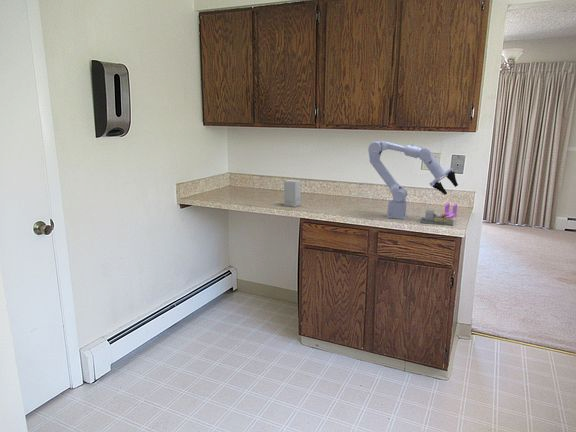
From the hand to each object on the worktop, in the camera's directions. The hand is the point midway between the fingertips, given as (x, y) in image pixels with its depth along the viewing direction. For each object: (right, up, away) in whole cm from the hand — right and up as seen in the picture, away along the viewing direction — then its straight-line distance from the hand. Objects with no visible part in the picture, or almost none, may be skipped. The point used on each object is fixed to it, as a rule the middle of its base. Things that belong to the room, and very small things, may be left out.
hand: (451, 190), depth 223 cm
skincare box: (-81, -7, +41) cm, 91 cm away
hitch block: (-7, -16, +6) cm, 18 cm away
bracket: (+4, -14, +16) cm, 22 cm away
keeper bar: (-5, -16, -2) cm, 17 cm away
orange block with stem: (-5, -15, +5) cm, 16 cm away
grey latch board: (-6, -16, +4) cm, 18 cm away
